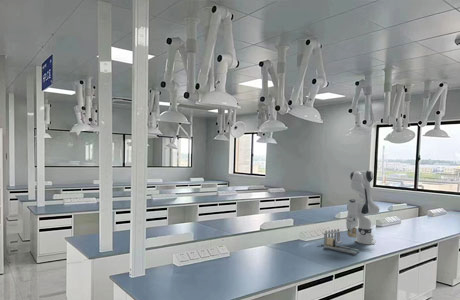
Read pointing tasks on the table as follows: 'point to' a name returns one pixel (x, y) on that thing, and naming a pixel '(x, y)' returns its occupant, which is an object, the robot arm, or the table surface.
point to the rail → (339, 247)
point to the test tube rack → (332, 236)
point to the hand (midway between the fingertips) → (352, 232)
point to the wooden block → (352, 233)
